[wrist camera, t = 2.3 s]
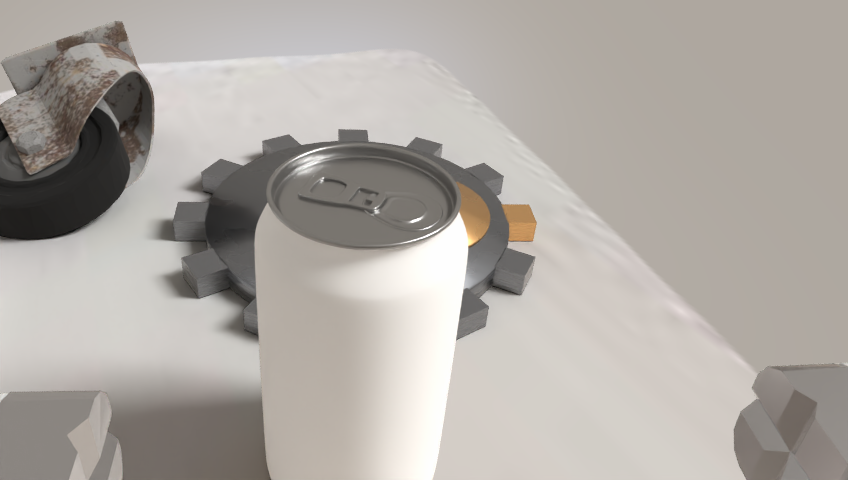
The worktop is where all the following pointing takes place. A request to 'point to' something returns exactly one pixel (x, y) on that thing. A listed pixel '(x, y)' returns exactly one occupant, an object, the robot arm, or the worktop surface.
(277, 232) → the can
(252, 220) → the sprocket plate
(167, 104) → the worktop surface
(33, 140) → the caster wheel
